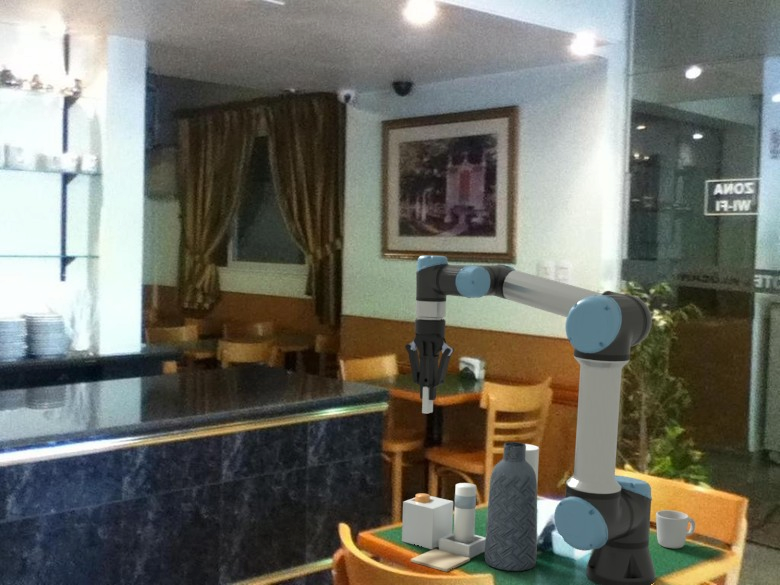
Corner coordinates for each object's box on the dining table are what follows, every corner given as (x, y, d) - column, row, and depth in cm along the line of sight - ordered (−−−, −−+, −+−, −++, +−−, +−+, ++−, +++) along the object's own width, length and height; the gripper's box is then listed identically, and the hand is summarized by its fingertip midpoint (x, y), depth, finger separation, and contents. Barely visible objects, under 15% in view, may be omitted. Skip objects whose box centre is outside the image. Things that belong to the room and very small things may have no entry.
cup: (683, 538, 246) (684, 508, 245) (703, 548, 238) (705, 517, 238) (648, 542, 242) (649, 511, 242) (667, 552, 235) (668, 520, 234)
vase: (521, 576, 215) (526, 452, 213) (474, 564, 222) (479, 444, 220) (545, 562, 225) (550, 444, 223) (499, 550, 232) (504, 436, 230)
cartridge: (477, 550, 232) (480, 485, 231) (466, 555, 228) (469, 489, 227) (460, 545, 235) (462, 481, 234) (448, 550, 231) (451, 485, 230)
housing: (488, 549, 232) (489, 509, 232) (468, 559, 225) (469, 517, 224) (422, 532, 244) (423, 494, 243) (401, 541, 237) (403, 501, 236)
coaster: (469, 560, 224) (470, 558, 224) (446, 571, 216) (446, 569, 216) (434, 551, 230) (434, 548, 230) (410, 561, 222) (410, 559, 222)
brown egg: (431, 518, 239) (432, 495, 238) (423, 522, 236) (424, 498, 235) (420, 515, 241) (421, 492, 240) (411, 519, 238) (412, 495, 237)
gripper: (460, 319, 234) (457, 413, 236) (415, 315, 241) (412, 407, 243) (445, 320, 228) (442, 418, 230) (400, 317, 235) (397, 411, 237)
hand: (427, 412), depth 236 cm, fingers closed
